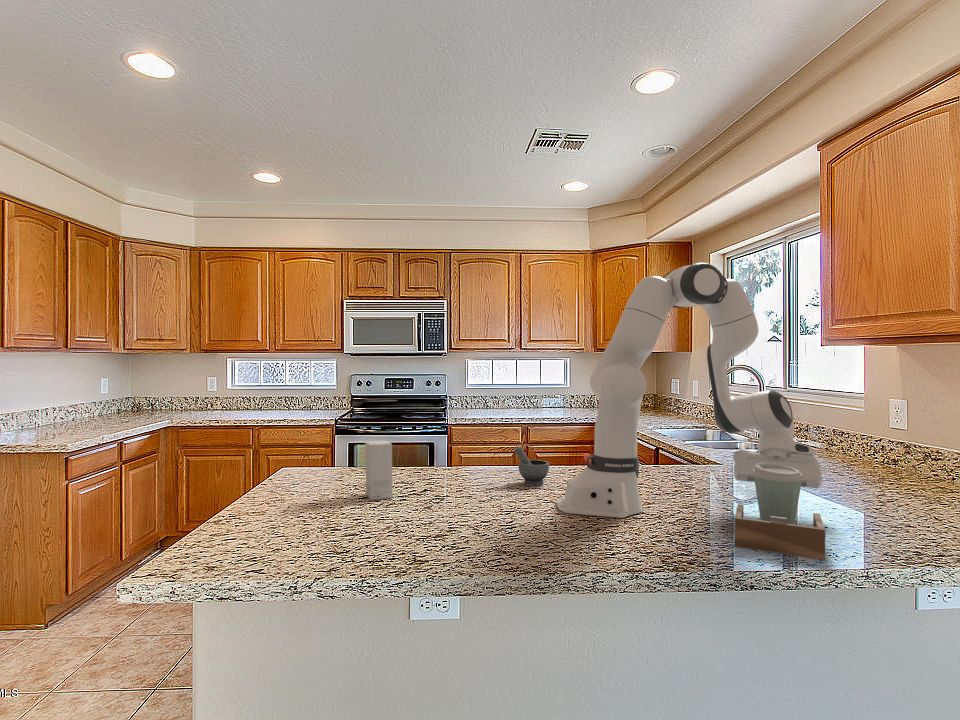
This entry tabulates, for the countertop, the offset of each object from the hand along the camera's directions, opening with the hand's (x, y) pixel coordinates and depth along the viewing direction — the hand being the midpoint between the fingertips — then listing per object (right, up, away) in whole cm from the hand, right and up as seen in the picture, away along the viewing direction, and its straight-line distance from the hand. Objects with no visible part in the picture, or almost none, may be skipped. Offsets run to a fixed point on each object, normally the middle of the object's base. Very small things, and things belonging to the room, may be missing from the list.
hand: (776, 496), depth 139 cm
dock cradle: (-10, -5, -19) cm, 22 cm away
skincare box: (-104, -5, +18) cm, 106 cm away
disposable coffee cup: (-5, -6, -10) cm, 13 cm away
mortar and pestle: (-59, -5, +35) cm, 69 cm away
